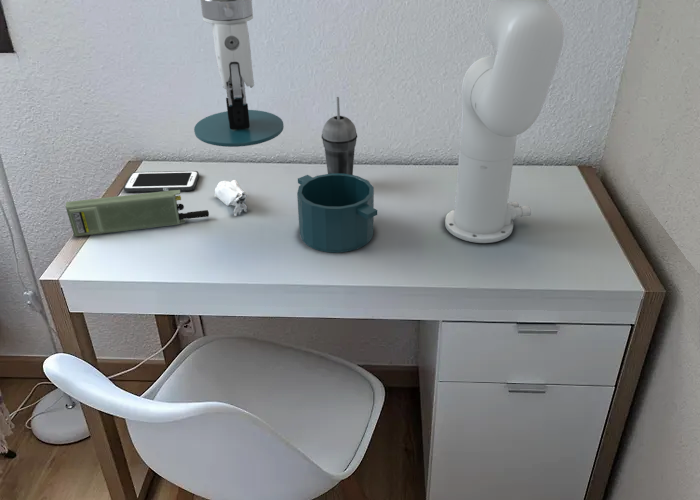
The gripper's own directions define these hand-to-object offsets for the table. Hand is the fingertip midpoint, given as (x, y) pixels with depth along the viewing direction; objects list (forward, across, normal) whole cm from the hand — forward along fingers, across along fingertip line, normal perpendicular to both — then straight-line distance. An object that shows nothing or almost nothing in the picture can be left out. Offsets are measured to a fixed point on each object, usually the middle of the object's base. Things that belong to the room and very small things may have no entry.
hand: (238, 123), depth 108 cm
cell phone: (+23, +28, +16) cm, 39 cm away
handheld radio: (+23, +10, +20) cm, 32 cm away
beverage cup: (+23, +17, -20) cm, 35 cm away
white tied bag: (+23, +15, +3) cm, 28 cm away
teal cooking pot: (+23, -1, -16) cm, 28 cm away
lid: (+1, 0, 0) cm, 1 cm away
